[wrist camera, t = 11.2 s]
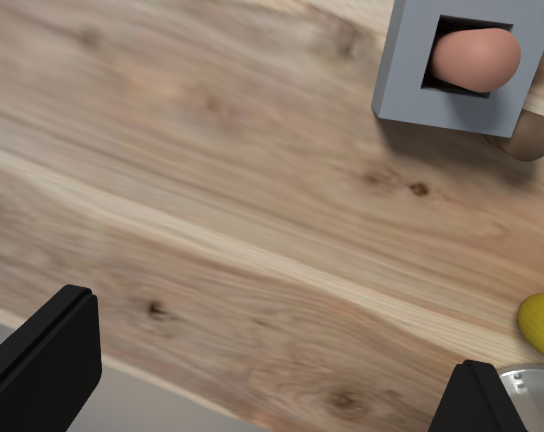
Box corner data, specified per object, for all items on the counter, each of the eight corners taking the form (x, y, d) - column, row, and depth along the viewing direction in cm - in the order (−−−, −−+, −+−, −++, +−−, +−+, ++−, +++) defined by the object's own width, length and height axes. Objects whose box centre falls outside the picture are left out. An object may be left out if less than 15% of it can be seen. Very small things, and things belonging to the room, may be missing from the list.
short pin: (534, 109, 35) (565, 119, 30) (518, 149, 36) (545, 164, 32) (492, 102, 35) (516, 111, 30) (478, 143, 37) (499, 157, 32)
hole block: (526, -4, 32) (567, -13, 26) (482, 123, 36) (510, 137, 30) (399, -20, 32) (413, -32, 27) (370, 106, 36) (378, 117, 31)
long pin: (469, 35, 33) (530, 32, 23) (455, 80, 35) (507, 96, 25) (425, 29, 33) (467, 24, 23) (414, 74, 35) (448, 87, 25)
